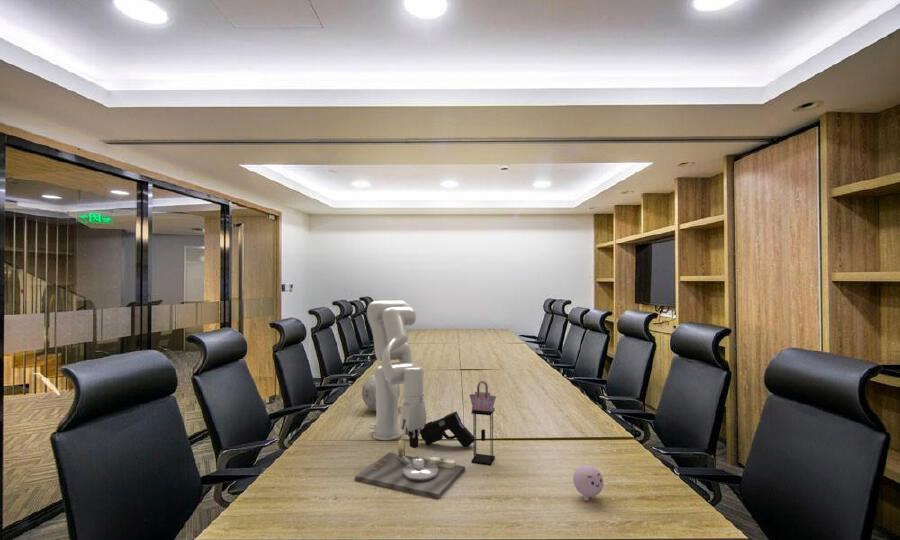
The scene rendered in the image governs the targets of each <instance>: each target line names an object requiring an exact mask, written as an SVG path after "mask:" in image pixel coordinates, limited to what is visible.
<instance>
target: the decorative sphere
mask: <svg viewBox="0 0 900 540" xmlns="http://www.w3.org/2000/svg"><path fill="white" fill-rule="evenodd" d="M392 387H393V388H394V390H395V391H396V392H397V394H398V399H399V398H400V394H401V393H400V392H401V388H400V384H396V385H393V386H392ZM361 389H362V390H361V397H362V400H363V402H364V404H365V405H366V406H367V408H368V409H370V410H372V411H374V412H376V384H375V378H374V373H372V374H371V375H369V377H368V378H367V379H366V380H365V382H364V384H363V385H362V388H361Z"/></svg>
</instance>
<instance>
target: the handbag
mask: <svg viewBox="0 0 900 540" xmlns="http://www.w3.org/2000/svg"><path fill="white" fill-rule="evenodd" d="M481 384H483V385H484V387H485V392H484V391H480V385H481ZM488 387H489V386H488V382H486V381H484V380H480V381H479V382H478V383H477V385H476V388H477V389H476V391H474V393H473V394H472V393H471V394H469V399H470V403H471V411H470V412H471V413H470V414H472V415H473V420H472V421H473V425H472V426H473V436H474V442H473V458H472V459H471V464H476V465H481V466H492V464H493V462H494V461H495V459H496V456H495V455H494V415H493V414H494V412H495V407H494V406H495V401H496V399H497V396H495V395H491V392H489V388H488ZM477 415H480V416H481V415H482V416H489V417H490V419H489V421H490V426H489V427H490V428H489V430H490V432H489V433H490V442H489V443H490V445H491V448H490V455H489V454H482V453H477ZM480 435H481V436H480V437H481V439H480V440H481V441H482V442H485V441H486V429H481V431H480Z"/></svg>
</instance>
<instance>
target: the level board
mask: <svg viewBox="0 0 900 540" xmlns="http://www.w3.org/2000/svg"><path fill="white" fill-rule="evenodd" d="M396 454H397V453H393V452H388V453H386V454H385V455H383V456H382V457H380V458H379V459H378V460H376V461H374V462H373V463H372V464H369V465H368V466H367V467H365V468H364V469H363V470H361V471H360V472H358V473H357V474H355V475H354V481H357V482H362V483H366V484H369V485H374V486H379V487H384V488H389V489H393V490H396V491H401V492H404V493H405V492H406V493H410V494H415V495H419V496H424V497H429V498H432V499H437V500H439V499H440V498H441V497H442V496H443V495H444V494H445V493H446V491H447V490H448V489H450V487H451V486H452V485H453V484H454V483H455V482H456V481H457V480H458V479H459V478H460V476H461V475H463V474H464V472H465V471H466V466H464V465H459V464H457V461H456V460H453V459H447V458H442V457H437V456H436V457H435V456H430V457H428V459H426V458H424V462H430V463H433V464H435V465H437V466H438V475H437V476H436V477H435V478H433V479H431V480H427V481H412V480H409V479H407V478H405V477H404V471H403V470H404V467H405V466H406V465H405V464H404V463H402V462H401V461H400V459H399V458H397V457H396ZM405 457H406V458H408V459H410V460H411V461H413V458H414V457H415V456H411V455H406V454H405Z"/></svg>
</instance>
